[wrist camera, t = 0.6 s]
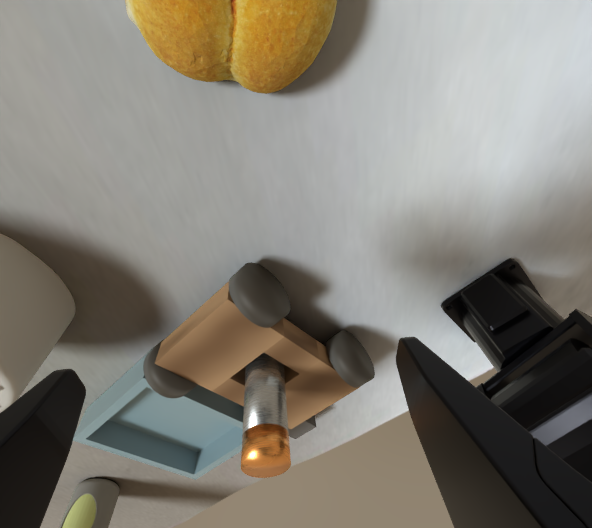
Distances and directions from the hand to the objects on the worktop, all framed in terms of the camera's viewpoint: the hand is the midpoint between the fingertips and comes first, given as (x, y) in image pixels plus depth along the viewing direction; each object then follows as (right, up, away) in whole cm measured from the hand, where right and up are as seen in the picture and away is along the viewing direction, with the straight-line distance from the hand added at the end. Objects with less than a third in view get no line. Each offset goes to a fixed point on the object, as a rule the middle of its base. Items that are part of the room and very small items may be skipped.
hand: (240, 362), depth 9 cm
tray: (-10, -11, +23) cm, 27 cm away
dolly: (0, -5, +20) cm, 20 cm away
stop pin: (-1, -4, +19) cm, 19 cm away
